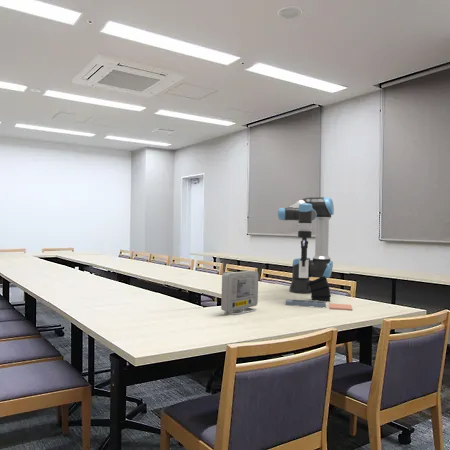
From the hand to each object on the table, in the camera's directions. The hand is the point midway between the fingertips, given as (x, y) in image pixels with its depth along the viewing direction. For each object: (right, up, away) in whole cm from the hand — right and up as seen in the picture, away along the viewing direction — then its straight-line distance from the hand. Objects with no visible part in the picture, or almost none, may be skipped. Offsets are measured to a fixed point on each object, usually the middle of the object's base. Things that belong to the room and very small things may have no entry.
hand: (303, 271), depth 243 cm
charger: (0, -3, 0) cm, 3 cm away
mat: (+19, -19, -5) cm, 28 cm away
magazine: (+12, -19, +17) cm, 29 cm away
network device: (-37, -18, -25) cm, 48 cm away
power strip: (+1, -19, -1) cm, 19 cm away
